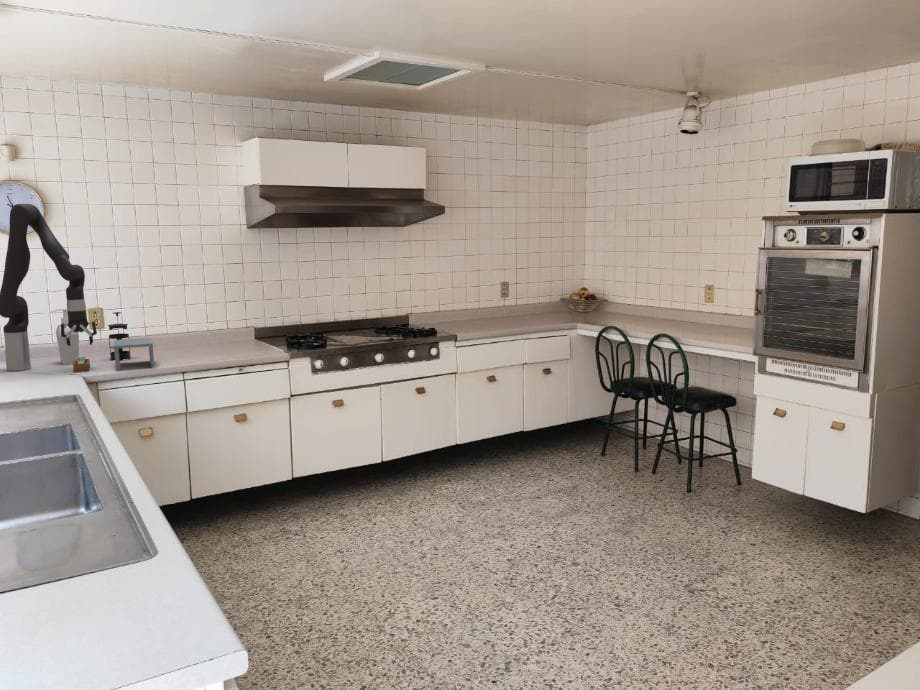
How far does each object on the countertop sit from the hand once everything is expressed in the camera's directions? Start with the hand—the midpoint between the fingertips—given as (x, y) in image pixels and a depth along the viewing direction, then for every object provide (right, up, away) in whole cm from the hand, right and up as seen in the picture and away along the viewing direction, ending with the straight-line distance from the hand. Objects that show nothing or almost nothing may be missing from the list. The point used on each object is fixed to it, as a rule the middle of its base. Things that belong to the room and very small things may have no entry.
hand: (80, 345), depth 332 cm
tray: (0, -11, +2) cm, 11 cm away
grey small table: (+20, -9, +10) cm, 24 cm away
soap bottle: (-16, -9, +19) cm, 26 cm away
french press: (+5, -7, +28) cm, 29 cm away
